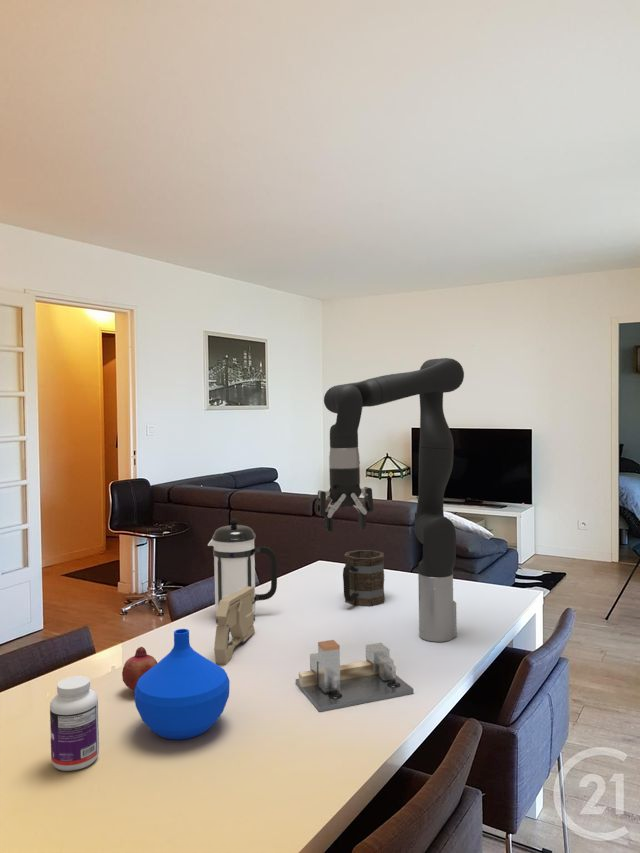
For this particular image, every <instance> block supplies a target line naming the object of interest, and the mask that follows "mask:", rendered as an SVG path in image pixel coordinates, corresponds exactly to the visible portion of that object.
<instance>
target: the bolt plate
mask: <svg viewBox="0 0 640 853" xmlns="http://www.w3.org/2000/svg"><path fill="white" fill-rule="evenodd" d="M295 684H296V686H297V687H298V689H299V690H301V692H302V693H303V694H304V696H306V698H307V699H308V700H309V701H310V702H311V704H312V705H313V706H314V707H315V708H316V710H317V711H318V712H319V713H320V712H326V711H331V710H336V709H342V708H346V707H351V706H356V705H361V704H367V703H371V702H378V701H381V700H382V701H383V700H387V699H393V698H397V697H402V696H407V695H408V696H409V695H412V694H414V688H413V687H412V686H411V685H409V684H408V683H407V682H406V681H404V680H403V679H402V678H400V677H399V676H398V675H397V674H396V684H392V679H390V680H383V679H382V678H381V677H379V674H374V675H368V676H363V677H357V678H352V679H346V680H341V681H340V690H338V694H337V695H334V694H333V691H332V692H326V693H325V692H324V691H323V690H322V689H321V688H320V687H319V684H318V685H313V686H307V687H302V686H301V685H300V684H299V678H296V679H295Z"/></svg>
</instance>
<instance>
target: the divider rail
mask: <svg viewBox="0 0 640 853" xmlns="http://www.w3.org/2000/svg"><path fill="white" fill-rule="evenodd" d="M374 674H379V671H373V664H372V663H371V662H370V661H366V660H364V661H358V662H353V663H347V664H340V681H341V680H346V679H352V678H357V677H363V676H368V675H374ZM298 679H299V684H300V685H301V686H302V687H307V686H313V685H318V684H319V681H318V682H317V681H316V673H315V672H314V671H313V670H311V671H310V670H307V671H299V672H298Z"/></svg>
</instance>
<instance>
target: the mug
mask: <svg viewBox="0 0 640 853" xmlns="http://www.w3.org/2000/svg"><path fill="white" fill-rule="evenodd" d="M384 557H385V552H382V551H378V550H373V549H370V550H369V549H367V550H366V549H356V550H351V551H347V552H345V553H344V557H343V558H344V567H343V570H342V581H343V583H342V584H343V597H344V602H345V603H346V604H349V605H351V606H355V607H376V606H379V605H382V604H383V605H384V604H385V601H386V597H385V570H384V566H385V565H384V559H385V558H384Z"/></svg>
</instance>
